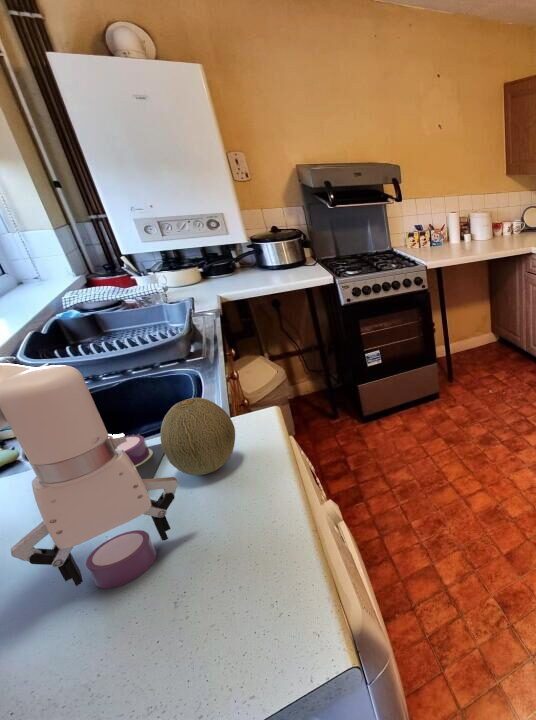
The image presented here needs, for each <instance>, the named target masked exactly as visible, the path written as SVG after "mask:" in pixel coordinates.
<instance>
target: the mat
mask: <svg viewBox="0 0 536 720" xmlns="http://www.w3.org/2000/svg"><path fill="white" fill-rule="evenodd" d="M147 447H148V449H149V452H150V454H149V456H148V457H147V458H146V459H145V460H144V461H142V462H141V463H139V464H137V465H135V468H136V470H137V472H138V473H139V475H140V477H141V479H153V478H155V475H156V473H157V471H158V469H159V467H160V464H161V462H162V460H163V458H164V456H165V453H164V451H163V449H162V445H161V443H158V444H154V445H149V446H147Z"/></svg>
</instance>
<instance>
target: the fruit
mask: <svg viewBox="0 0 536 720" xmlns="http://www.w3.org/2000/svg"><path fill="white" fill-rule="evenodd" d="M235 442H236V428H235V425H234V423H233V421H232V418H231V417H230V415H229V414H228V413H227V412H226V410H225V409H223V408H222V407H221V406H220V405H219V404H217V403H215V402H214V401H213V400H209V399H207V398H203V397H191V398H188V399H184V400H182V401H181V400H180V401H178V402H177V403H175V404H174V405H173V406H171V408H170V409H169V410H168V411H167V413H166V414H165V415H164V417H163V419H162V423H161V427H160V444H161V445H162V449H163V451H164V453H165V454H164V456H165V457H166V458H167V461H168V462H169V463H170V464H171V465H172V466H173V467H174V468H175V469H176V470H178V471H180V473H184V474H187V475H191V476H202V475H207V474H211V473H214V472H216V471H217V470H219V469H220V468H222V467H223V466H225V464H226V463H227V462H228V460H229V459H231V456H232V455H233V452H234V448H235Z"/></svg>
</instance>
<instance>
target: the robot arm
mask: <svg viewBox="0 0 536 720" xmlns="http://www.w3.org/2000/svg"><path fill="white" fill-rule="evenodd" d="M9 427H10V429H11V431H12V433H13V434H14V436H15V439H16V440H17V442H18V444H19V446H20V448H21V449H22V452H23V454H24V455H25V457H26V460H27V461H28V463H29V466H30V467H31V469H32V470H33V473H34V474H35V477H34V478H33V479H32V480H31V488H32V492H33V496H34V500H35V503H36V506H37V509H38V511H39V514H40V516H41V519H42V521H41V522H40V523H39V524H38V525H36V526H35V527H34V528H33V529H32V530H30V531H29V532H28V533H27V534H25V536H24V537H22V538H21V539H20V540H19V541H17V542H16V543H15V544H14V545H13V546H12V547H10V556H11V557H13V558H15V559H19V560H21V561H24V562H29V564H31V565H37V566H39V565H40V566H51V567H52V568H57V569H58V571H59V573H60V575H61V576H62V578H63V579H64V582H68V581H70V580H72V582H73V583H74V585H75V587H77V586H80V585H81V584H82V583H83V582H84V580H83V576H82V572H81V569H80V567H79V565H78V564H77V562H76V560H75V558H74V556H73V554H72V553H71V552H72V550H73V548H74V547H76V546H79V545H81V544H83V543H85V542H88V541H90V540H92V539H94V538H96V537H98V536H100V535H104V534H105V533H107V532H109V531H111V530H113V529H116V528H118V527H120V526H122V525H124V524H126V523H128V522H131V521H133V520H135V519H137V518H139V517H141V516H143V515H144V516H149V517H151V519H152V522H153V524H154V527H155V528H156V531H157V533H158V535H159V538H160V539H161V541H163V542H166V541H167V540H169V537H168V534H167V531H170V530H171V526H170V523H169V521H168V519H167V516H166V515H167V513H168V512H167V510H168V509H169V507H170V506H171V504H172V502H173V501H174V500H175V494H176V492H177V488H178V485H179V481H178V480H177V478H176V477H175V476H169V477H168V476H167V477H154V478H153V479H141V477H140V475H139V473H138V472H137V470H136V468H135V466H134V464H133V463H132V461H131V459H130V458H129V457H128V455H127V454H126V453H125V452H124V450H123V449H122V448H120V447H117V446H119V445H120V444H122V443H124V442H127V440H126V438H125V437H126V436H125V434H124V432H121V433H119V434H113V435H112V433H108V430H107V429H106V426H105V423H104V421H103V419H102V417H101V415H100V411H99V410H98V408H97V406H96V404H95V401H94V398H93V397H92V394H91V392H90V389H89V387H88V385H87V382H86V381H85V378H84V375H83V374H82V373H81V372H80V370H78V369H77V368H75V367H73V366H71V365H65V364H57V365H55V364H54V365H46V366H42V367H35V366H28V365H21V364H15V363H0V431H2V430H5V429H6V428H9ZM155 490H163V492H162V493H161V495H160V496H159V497H158V499H157V500H154V499H152V498H151V497H150V494H149V492H148V491H155ZM48 535H49V536H50V538H51V540H52V542H53V543H54V544H53V546H52V548H39V547H38V548H36V547H34V546H36V545H37V544H38V543H40V542H41V541H42V540H43V539H45V537H46V536H48Z"/></svg>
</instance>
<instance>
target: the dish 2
mask: <svg viewBox="0 0 536 720" xmlns="http://www.w3.org/2000/svg"><path fill="white" fill-rule="evenodd" d="M156 558H157V551H156V548H155V546H154V544H153V541H152V539H151V537H150V534H149V532H146V531H145V530H142V529H139V530H138V529H137V530H135V529H134V530H129V531H125V532H122V533H120V534H117V535H115V536H113V537H110V538H109V539H107V540H105V541H104V542H102V543H101V544H99V545H98V546H97V547H96V548H95V549H93V551H92V552H91V553H90V554H89V555H88V556H87V558H86V560H85V566H86V568H87V571H88V572H89V574H90V577H91V578H92V581H93V582H94V585H96V587H98V588H100V589H113V588H116V587H117V588H118V587H120V586H123V585H126V584H127V583H130V582H131V581H134V580H135V579H137V578H138V577H140V576H141V575H143V574H144V573H145V572H146V571H148V569H150V568H151V566H153V564H154V562H155V561H156Z"/></svg>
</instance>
